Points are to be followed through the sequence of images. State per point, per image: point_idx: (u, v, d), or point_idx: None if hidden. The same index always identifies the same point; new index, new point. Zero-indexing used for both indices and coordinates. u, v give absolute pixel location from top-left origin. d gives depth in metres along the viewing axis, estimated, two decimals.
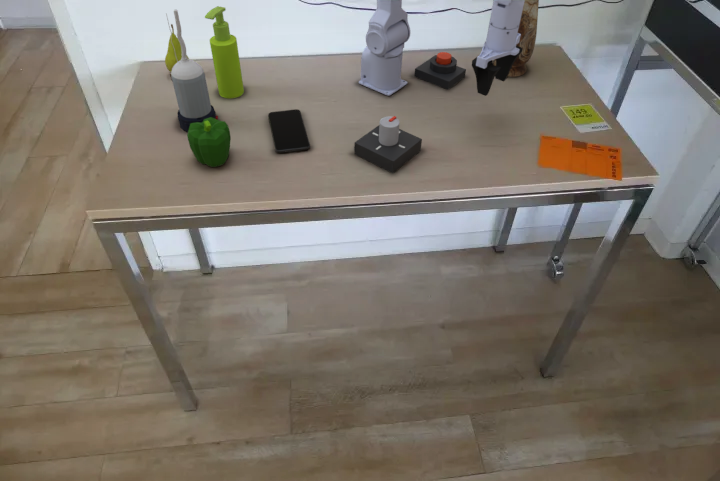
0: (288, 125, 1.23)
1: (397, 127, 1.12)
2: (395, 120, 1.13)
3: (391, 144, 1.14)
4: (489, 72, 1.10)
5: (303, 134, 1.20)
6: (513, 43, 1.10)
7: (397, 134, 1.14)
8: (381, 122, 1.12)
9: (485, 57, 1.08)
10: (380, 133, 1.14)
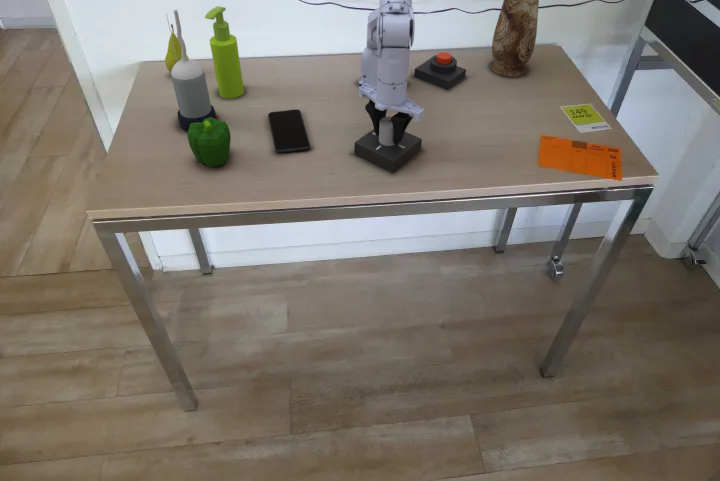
0: (288, 125, 1.23)
1: None
2: None
3: (391, 144, 1.14)
4: None
5: (303, 134, 1.20)
6: (381, 97, 1.06)
7: None
8: (381, 122, 1.12)
9: (365, 89, 1.12)
10: (380, 133, 1.14)
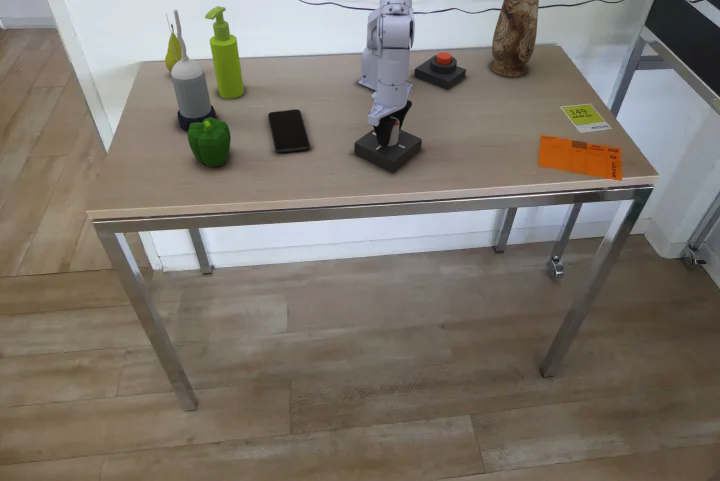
0: (288, 125, 1.23)
1: None
2: None
3: None
4: None
5: (303, 134, 1.20)
6: None
7: None
8: None
9: None
10: None
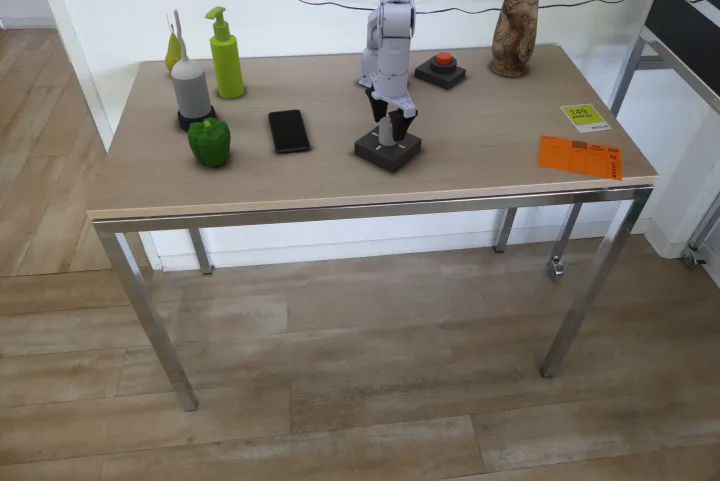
0: (288, 125, 1.23)
1: (384, 128, 1.12)
2: None
3: (379, 140, 1.15)
4: None
5: (303, 134, 1.20)
6: (378, 86, 1.06)
7: (385, 136, 1.13)
8: (386, 117, 1.14)
9: (375, 77, 1.11)
10: None
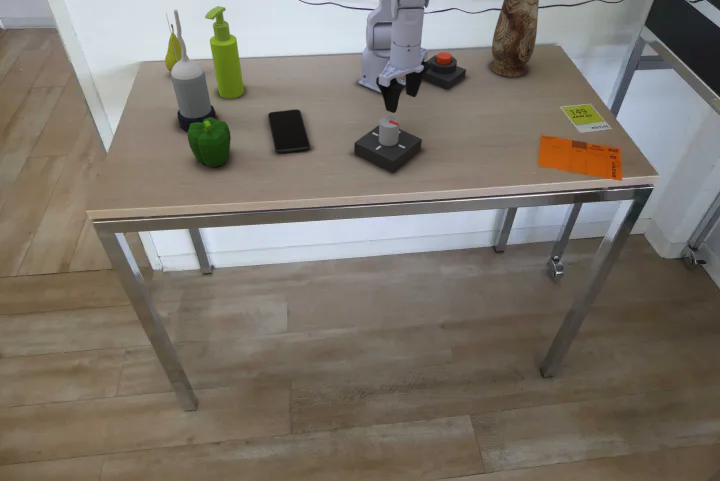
0: (288, 125, 1.23)
1: (384, 128, 1.12)
2: (392, 124, 1.12)
3: (379, 140, 1.15)
4: (393, 90, 1.08)
5: (303, 134, 1.20)
6: (416, 60, 1.08)
7: (385, 136, 1.13)
8: (386, 117, 1.14)
9: (387, 75, 1.06)
10: None
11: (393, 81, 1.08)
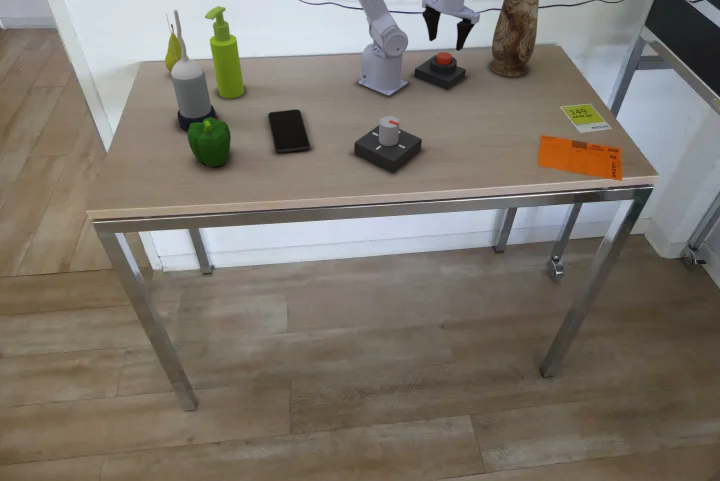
0: (288, 125, 1.23)
1: (384, 128, 1.12)
2: (392, 124, 1.12)
3: (379, 140, 1.15)
4: (474, 24, 1.30)
5: (303, 134, 1.20)
6: None
7: (385, 136, 1.13)
8: (386, 117, 1.14)
9: None
10: None
11: None
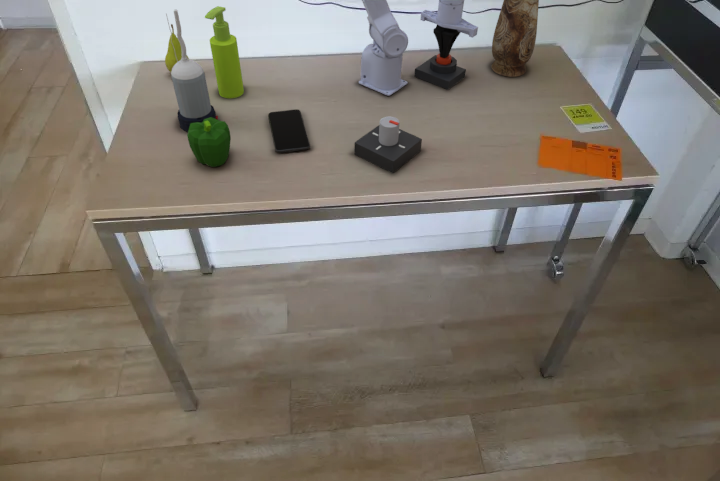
0: (288, 125, 1.23)
1: (384, 128, 1.12)
2: (392, 124, 1.12)
3: (379, 140, 1.15)
4: (459, 32, 1.33)
5: (303, 134, 1.20)
6: None
7: (385, 136, 1.13)
8: (386, 117, 1.14)
9: None
10: None
11: None
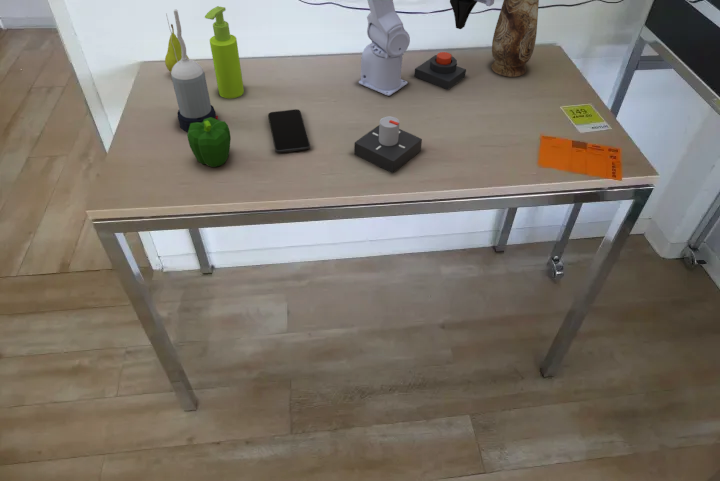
0: (288, 125, 1.23)
1: (384, 128, 1.12)
2: (392, 124, 1.12)
3: (379, 140, 1.15)
4: (475, 2, 1.33)
5: (303, 134, 1.20)
6: None
7: (385, 136, 1.13)
8: (386, 117, 1.14)
9: None
10: None
11: None
